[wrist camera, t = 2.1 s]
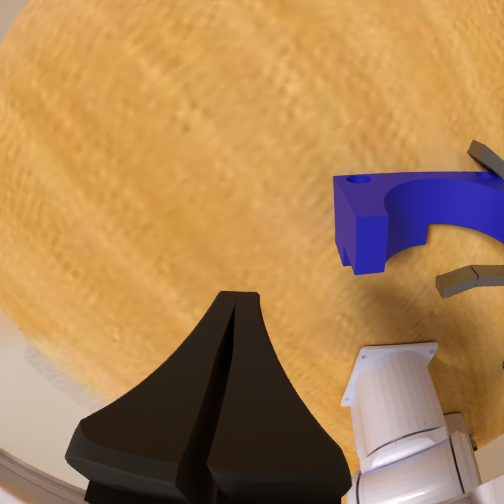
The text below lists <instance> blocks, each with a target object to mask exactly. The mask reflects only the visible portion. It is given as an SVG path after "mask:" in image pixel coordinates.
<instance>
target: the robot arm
mask: <svg viewBox="0 0 504 504" xmlns="http://www.w3.org/2000/svg"><path fill="white" fill-rule="evenodd" d="M437 349H438V343H437V342H428V343H416V344H402V345H386V346H366V347H363V348H361V350H360V352H359V355H358V357H357V360H356V363H355V366H354V369H353V371H352V374H351V377H350V379H349V382H348V385H347V387H346V390H345V392H344V395H343V397H342V400H341V405H342V406H350V410H351V417H352V425H353V433H354V441H355V449H356V452H357V455H358V457H359V458H360V470H358V471H356V472H355V473H354V474H353V476H352V478H351V474H350V470H349V467H348V464H347V461H346V459H345V456H344V454H343V451H342V449H341V448H340V447H339V446H338V444H337V443H336V442H335V441H334V440H333V439H332V438H331V437H330V436H329V435H328V433H327V432H326V431H325V430H324V429H323V428H322V427H321V425H320V424H319V423H318V421H317V420H316V419H315V418H314V416H313V415H312V414H311V413H310V411H309V410H308V408H307V407H306V405H305V404H304V402H303V401H302V400H301V398H300V397H299V395H298V394H297V392H296V391H295V389H294V387H293V386H292V384H291V382H290V381H289V379H288V377H287V375H286V373H285V372H284V370H283V368H282V366H281V364H280V362H279V360H278V358H277V355H276V353H275V351H274V349H273V346H272V344H271V341H270V339H269V336H268V333H267V330H266V327H265V324H264V320H263V316H262V312H261V307H260V295H259V294H258V293H257V292H236V291H221V292H219V293H218V295H217V296H216V298H215V300H214V301H213V303H212V305H211V306H210V308H209V309H208V310H207V312H206V313H205V315H204V316H203V318H202V319H201V320H200V322H199V323H198V324H197V326H196V327H195V328H194V330H193V331H192V332H191V333H190V334H189V336H188V337H187V338H186V339H185V340H184V341H183V343H182V344H181V345H180V346H179V347H178V348H177V349H176V351H175V352H174V353H173V354H172V355H171V356H170V357H169V358H168V359H167V360H166V361H165V362H164V363H163V364H162V365H161V366H160V367H158V368H157V369H156V370H155V371H154V372H153V373H152V374H150V375H149V376H148V377H147V378H146V379H145V380H143V381H142V382H141V383H140V384H138V385H137V386H136V387H134V388H133V389H132V390H130V391H129V392H127V393H126V394H124V395H123V396H121V397H120V398H119V399H117V400H116V401H114V402H113V403H111V404H109V405H108V406H106V407H104V408H102V409H101V410H99V411H97V412H95V413H93V414H91V415H90V416H88V417H86V418H84V419H82V420H81V421H80V422H79V424H78V426H77V428H76V430H75V432H74V434H73V436H72V439H71V441H70V444H69V447H68V449H67V452H66V455H65V459H66V461H67V463H68V464H69V465H70V466H71V467H73V468H74V469H75V470H76V471H78V472H79V473H80V474H82V475H83V476H84V477H86V478H87V479H88V480H90V481H89V485H88V488H87V490H84V489H82V488H79V487H77V486H74V485H72V484H69V483H67V482H65V481H62V480H60V479H58V478H56V477H54V476H51V475H49V474H47V473H45V472H43V471H41V470H39V469H37V468H35V467H33V466H31V465H29V464H27V463H25V462H24V461H22V460H20V459H18V458H17V457H15V456H13V455H11V454H10V453H8V452H6V451H5V450H3V449H1V448H0V504H341V497H343V496H344V495H345V494H346V493H347V504H504V473H503V474H501V475H499V476H497V477H494V478H492V479H490V480H488V481H486V482H483V483H482V484H480V485H479V481H478V477H477V472H476V468H475V464H474V461H473V457H472V454H471V450H470V447H469V444H468V441H467V438H466V435H465V434H464V433H461V432H460V433H459V431H455V432H453V433H451V434H450V432H449V430H448V428H447V425H446V421H445V418H444V415H443V412H442V409H441V406H440V403H439V399H438V396H437V394H436V391H435V388H434V385H433V382H432V379H431V376H430V374H429V371H428V368H427V367H428V365H429V363H430V361H431V360H432V358H433V356H434V354H435V352H436V351H437Z"/></svg>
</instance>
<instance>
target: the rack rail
mask: <svg viewBox="0 0 504 504" xmlns="http://www.w3.org/2000/svg"><path fill="white" fill-rule="evenodd" d="M467 153H469V154H470V155H471V156H473V157H474V158H475V159H477V160H478V161H479V162H480V163H482V164H483V165H484V166H485V167H487V168H488V169H489V170H490V171H492V172H493V173H494V174H496V175H497V176H499V177H501V178H502V179H504V161H503V160H502V159H501V158H500V157H499V156H497V155H496V154H495V153H494V152H493V151H492V150H491V149H489V148H488V147H487V146H486V145H484V144H482V143H479V142H477V141H475V140H473V141H472V143H471V145H470V148H469V150H468V152H467ZM481 286H504V266H499V265H470V266H466V267H463V268H461V269H458V270H455V271H452V272H449V273H446V274H443V275H441V276H438V277H436V288H437V290H438V291H439V293H440V295H441V297H442V298H443V299H444V298H447V297H449V296H452V295H455V294H458V293H460V292H463V291H466V290H468V289H471V288H473V287H481Z"/></svg>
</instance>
